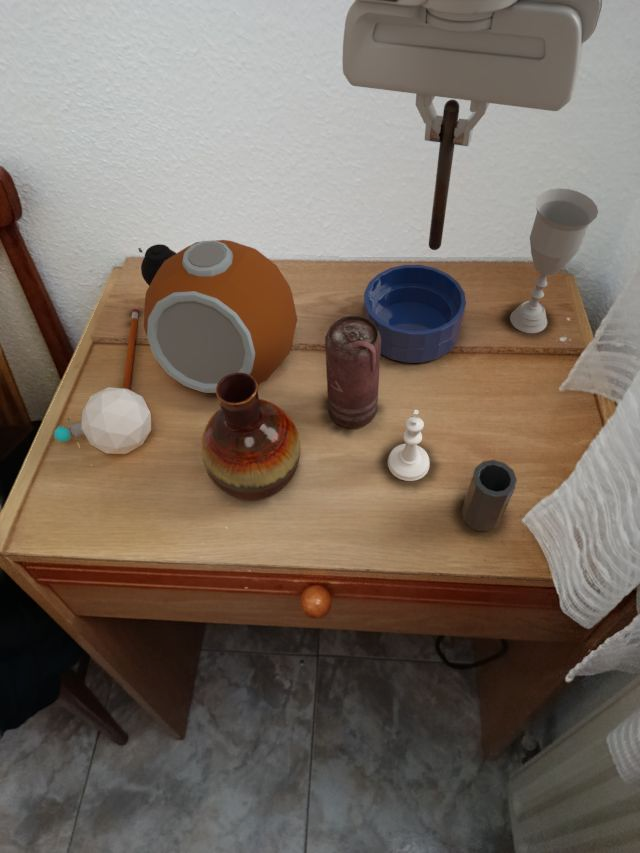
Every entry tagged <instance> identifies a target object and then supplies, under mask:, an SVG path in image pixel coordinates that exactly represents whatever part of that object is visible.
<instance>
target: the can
mask: <svg viewBox="0 0 640 853" xmlns="http://www.w3.org/2000/svg"><path fill="white" fill-rule="evenodd" d="M324 348H325V368H326V388H327V389H326V390H327V409H328V414H329V417H330V418H331V419H332V421H333V422H334V423H335V424H337V425H339V426H341V427H342V428H347V429H359V428H363V427H365V426H366V425H368V424H370V423H372V421H373V420H374V419H375V417H376V415H377V412H378V400H379V399H378V398H379V384H380V369H381V368H380V367H381V354H380V352H381V335H380V333H379V331H378V329H377V328H376V326H375V324H374V323H373V322H371V321H370V320H368V319H366V318H364V316H359V315H347V316H342V317H340V318H338V319H336V320H335V321H334V322H332V323H331V325H330V326H329V328H328V329H327V332H326V334H325V336H324Z"/></svg>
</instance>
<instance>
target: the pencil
mask: <svg viewBox="0 0 640 853" xmlns="http://www.w3.org/2000/svg"><path fill="white" fill-rule="evenodd" d="M131 311H132V313H131V317H130V318H131V320H130V327H129V334H128V344H127V351H126V360H125V367H124V376H123V383H122V388H123V389H129V390H131V381H132V371H133V364H134V355H135V346H136V337H137V331H138V330H137V329H138V321H139V312H140V311H139V309H138V308H133V309H132V310H131Z"/></svg>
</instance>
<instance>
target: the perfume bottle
mask: <svg viewBox="0 0 640 853" xmlns="http://www.w3.org/2000/svg"><path fill="white" fill-rule="evenodd" d="M67 421H68V423H69V426H66V425H63V424H62V425H58V426H57V427H56V428H55V430H54V433H53V435H54V438H55V439H56V441H58V442H59V443H60V442H61V443H67V442H68V441H70V440H71V438H72V435H73V437H74V438H75V439H76V443H77V446H78V448H79V449H81V446H80V440H79V436H85V437H86V439H87V441H88V442H89V444H90V445H91V447H92V446H93V447H94V448H96V449H97V450H99V451H101V452H103V453H105V454H108V455H110V454H111V455H112V454H113V455H127V454H128V453H130V452H132V451H134V450H136V449H138V448H139V447H141V446H143V445H144V443H145V441H146V439H147V438H148V436H149V435H150V433H151V431H152V413H151V411H150V410H149V407H148V405H147V403H146V401H145V399H144V397H143V396H142V395H140V394H139V393H136V392H134V391H132V390H131V389H130V390H129V389H123V387H121V388H120V387H110V386H109V387H106V388H104V389H102V390H100V391H98V392H96V393H94V394H92V395H90V396H89V399H88V400H87V402H86V404H85V405H84V408H83V409H82V412H81V421H79V422H75V423H74V422H72V421H71V420H70V418H68V417H67Z"/></svg>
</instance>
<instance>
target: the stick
mask: <svg viewBox="0 0 640 853" xmlns="http://www.w3.org/2000/svg"><path fill="white" fill-rule="evenodd" d="M459 114H460V103H459V102H458V100H457V99H454V98H451V99H448V100H447V101H445V104H444V105H443V112H442V116H443V121H442V130H441V140H440V142H439V148H438V150H439V151H438V156H437V157H438V159H437V167H436V174H435V184H434V192H433V202H432V208H431V209H432V210H431V220H430V227H429V235H428V236H429V237H428V247H429V248H430V250H432V251H438V250H439V249H440V248H441V246H442V243H443V242H442V241H443V233H444V228H445V227H444V226H445V220H446V219H445V218H446V213H447V212H446V211H447V204H448V197H449V189H450V180H451V175H452V167H453V159H454V152H455V145H454V144H453V139H454V137H455V136H454V130H455V126H456V124H457V123H458V120H459Z"/></svg>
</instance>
